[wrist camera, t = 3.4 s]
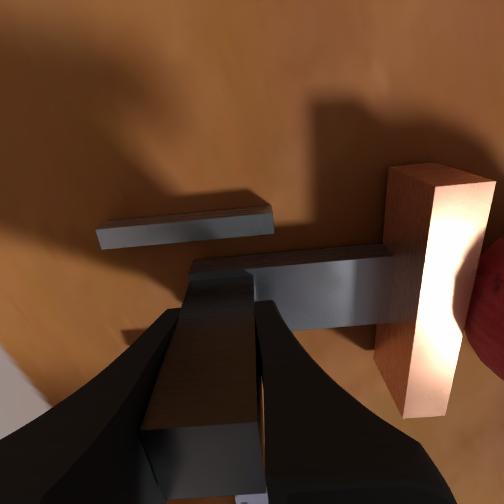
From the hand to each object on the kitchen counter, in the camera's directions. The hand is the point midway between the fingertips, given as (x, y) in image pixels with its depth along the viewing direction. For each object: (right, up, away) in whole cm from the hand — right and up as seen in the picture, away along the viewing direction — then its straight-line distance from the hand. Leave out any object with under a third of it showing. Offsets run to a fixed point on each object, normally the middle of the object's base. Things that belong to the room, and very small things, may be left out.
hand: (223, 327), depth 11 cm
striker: (+3, +1, +2) cm, 4 cm away
